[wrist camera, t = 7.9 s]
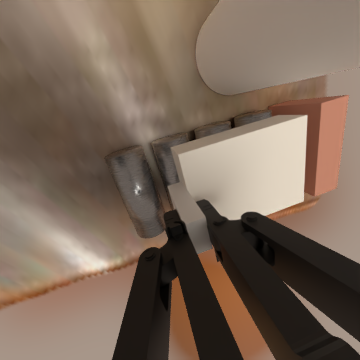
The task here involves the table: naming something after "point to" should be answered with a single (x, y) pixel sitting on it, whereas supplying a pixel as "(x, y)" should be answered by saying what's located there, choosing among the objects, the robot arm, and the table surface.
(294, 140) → the board
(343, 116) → the block
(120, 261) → the table surface
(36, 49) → the table surface
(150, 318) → the robot arm
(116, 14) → the table surface
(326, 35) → the cup
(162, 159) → the rollers
